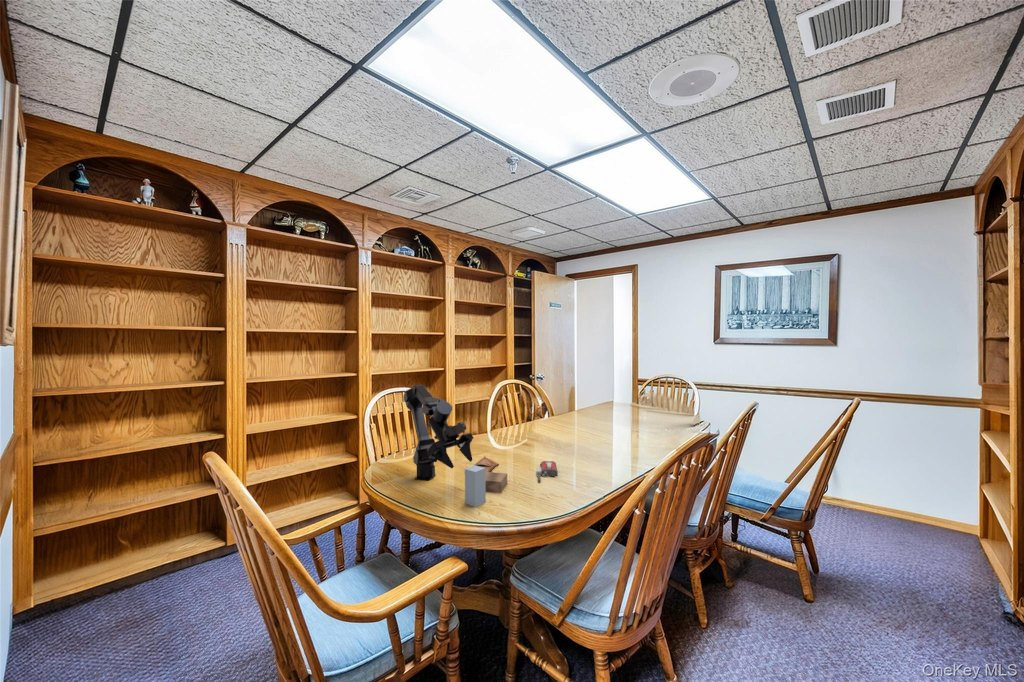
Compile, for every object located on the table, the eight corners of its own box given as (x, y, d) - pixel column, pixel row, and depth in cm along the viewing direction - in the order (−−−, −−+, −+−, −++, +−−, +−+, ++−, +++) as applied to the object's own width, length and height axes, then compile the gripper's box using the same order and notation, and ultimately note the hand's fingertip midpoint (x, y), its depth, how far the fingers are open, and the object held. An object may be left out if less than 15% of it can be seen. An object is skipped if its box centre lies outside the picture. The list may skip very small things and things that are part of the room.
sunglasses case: (487, 477, 161) (479, 463, 162) (473, 485, 162) (465, 470, 163) (500, 463, 178) (493, 450, 179) (487, 470, 180) (480, 457, 181)
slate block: (465, 503, 137) (464, 468, 136) (475, 498, 141) (474, 465, 140) (475, 507, 134) (475, 472, 133) (485, 502, 137) (485, 468, 137)
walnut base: (478, 490, 148) (478, 479, 148) (485, 481, 157) (485, 471, 157) (501, 492, 146) (501, 481, 146) (507, 483, 154) (507, 473, 154)
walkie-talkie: (535, 467, 175) (536, 484, 155) (535, 457, 175) (536, 472, 155) (555, 467, 174) (559, 484, 154) (555, 457, 174) (558, 473, 154)
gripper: (431, 420, 136) (453, 457, 130) (469, 411, 151) (491, 445, 144) (417, 439, 141) (438, 476, 135) (455, 429, 156) (476, 462, 149)
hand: (462, 464), depth 141 cm, fingers open, 9 cm apart
